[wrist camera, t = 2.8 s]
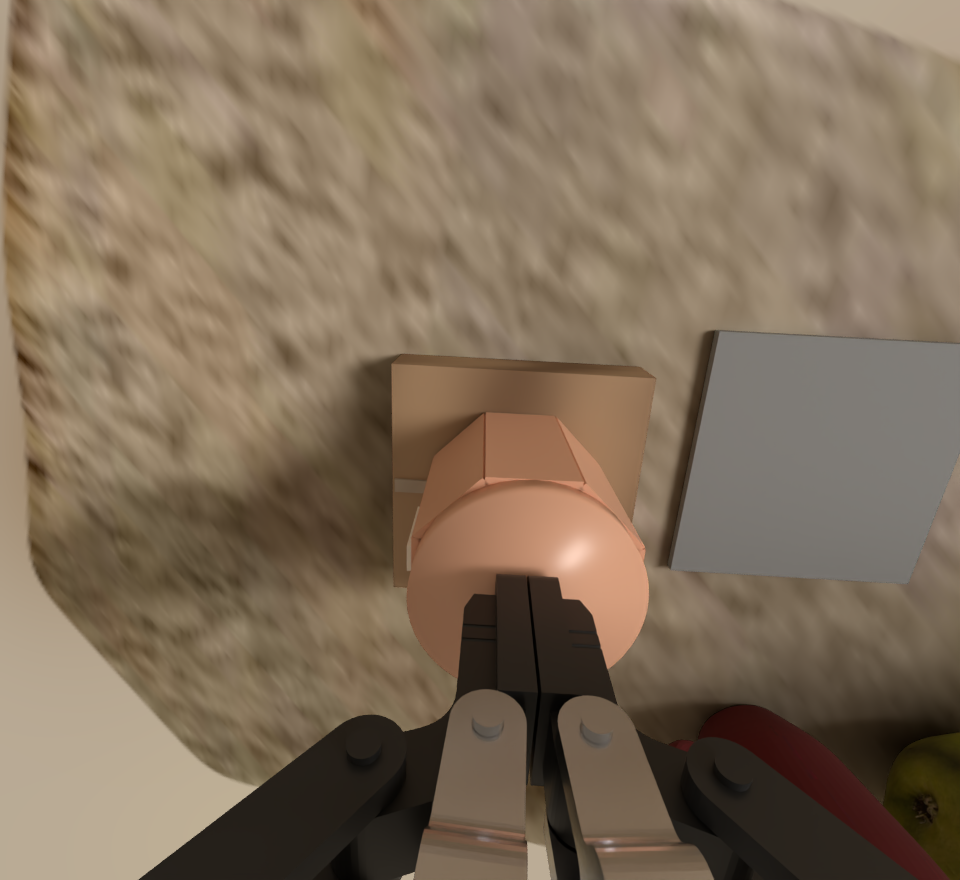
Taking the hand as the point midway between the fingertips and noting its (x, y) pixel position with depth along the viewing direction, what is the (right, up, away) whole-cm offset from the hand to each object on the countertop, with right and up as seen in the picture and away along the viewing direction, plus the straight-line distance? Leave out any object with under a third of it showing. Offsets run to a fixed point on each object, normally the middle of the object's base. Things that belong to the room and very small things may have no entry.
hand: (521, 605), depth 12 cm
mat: (+12, +3, +8) cm, 15 cm away
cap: (0, +2, +6) cm, 7 cm away
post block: (0, +3, +8) cm, 9 cm away
